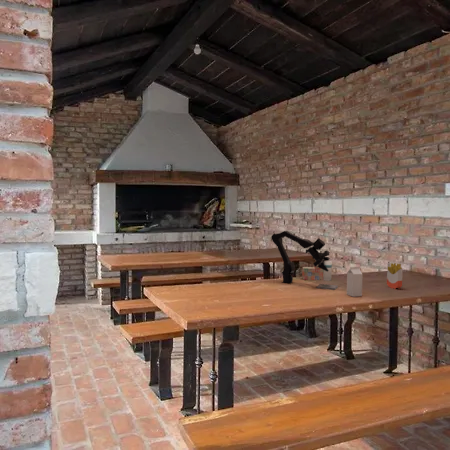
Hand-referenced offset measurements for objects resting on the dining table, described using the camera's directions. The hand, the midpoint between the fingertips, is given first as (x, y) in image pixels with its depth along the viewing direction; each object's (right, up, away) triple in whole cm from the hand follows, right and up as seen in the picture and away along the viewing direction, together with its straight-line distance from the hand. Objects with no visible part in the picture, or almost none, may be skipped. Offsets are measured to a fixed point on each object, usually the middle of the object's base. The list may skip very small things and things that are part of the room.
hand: (329, 270), depth 304 cm
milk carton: (+11, -14, -23) cm, 29 cm away
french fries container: (+48, -13, +2) cm, 49 cm away
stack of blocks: (-2, -11, +34) cm, 36 cm away
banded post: (-1, -7, +1) cm, 7 cm away
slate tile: (-1, -12, +1) cm, 13 cm away
